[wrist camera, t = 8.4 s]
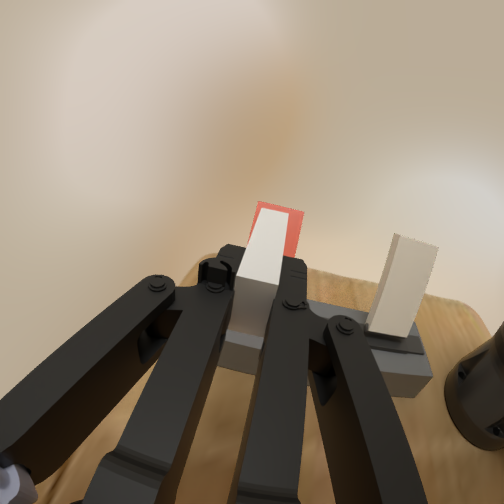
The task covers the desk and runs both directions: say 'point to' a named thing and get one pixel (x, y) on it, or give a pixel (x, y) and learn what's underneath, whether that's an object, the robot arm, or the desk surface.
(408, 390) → the grey slotted base
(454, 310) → the desk surface
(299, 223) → the red upright block
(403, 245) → the white rocker
